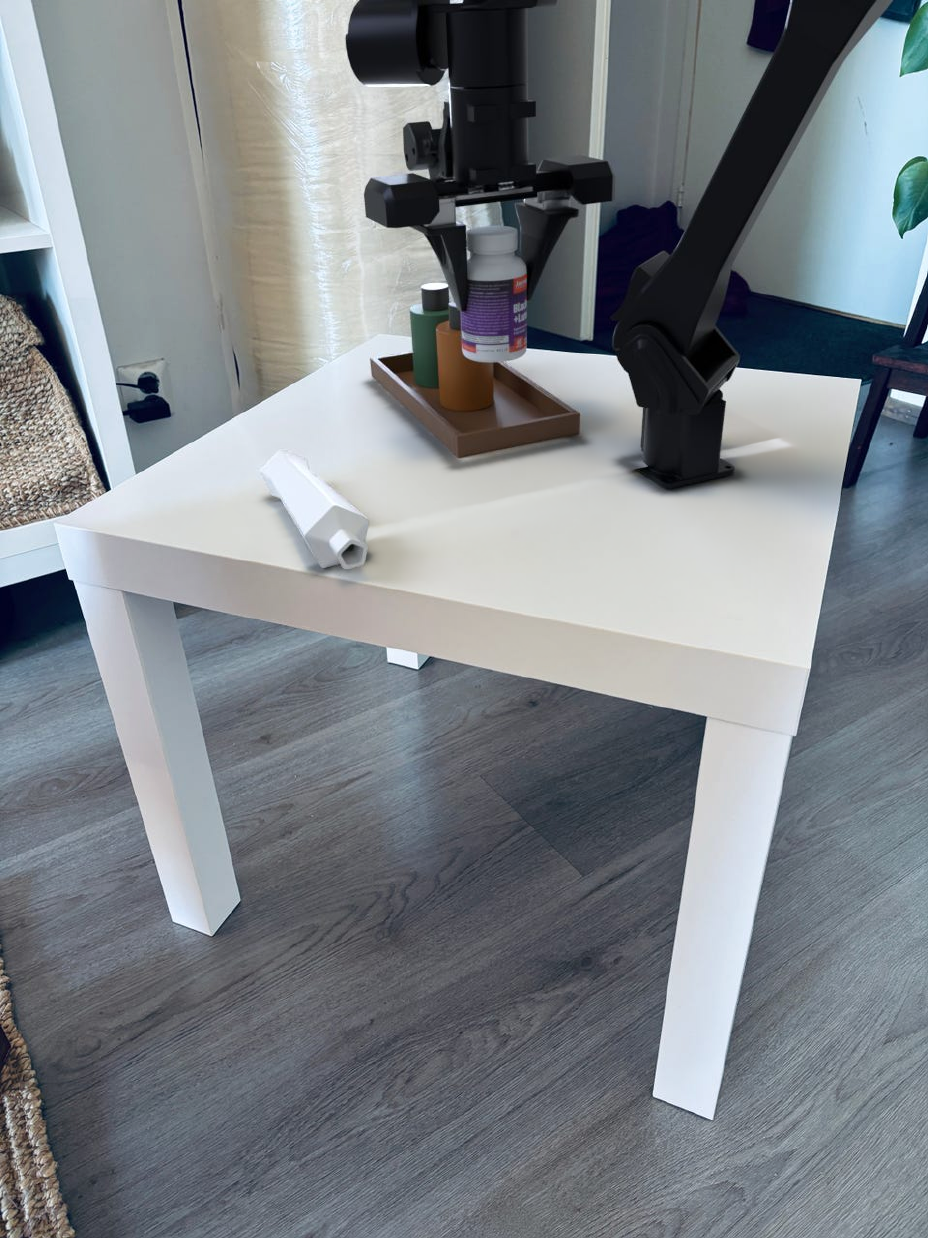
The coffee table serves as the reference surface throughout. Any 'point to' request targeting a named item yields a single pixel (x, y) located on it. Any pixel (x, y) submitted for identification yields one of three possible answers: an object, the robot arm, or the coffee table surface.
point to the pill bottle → (494, 296)
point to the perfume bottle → (317, 511)
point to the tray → (504, 424)
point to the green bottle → (428, 332)
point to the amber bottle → (461, 370)
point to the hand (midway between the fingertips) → (494, 305)
